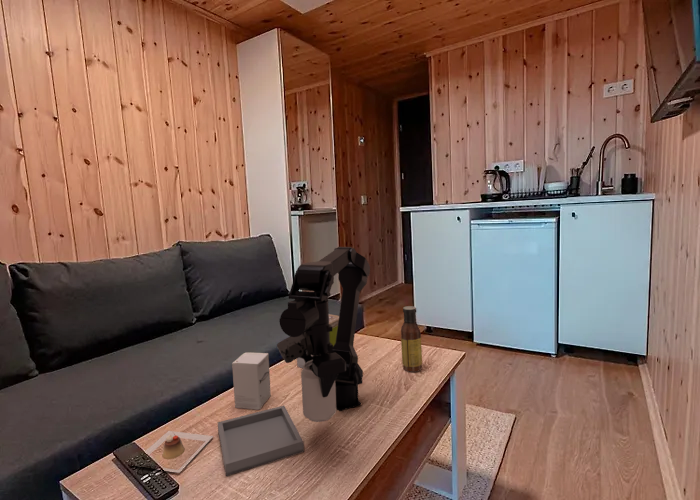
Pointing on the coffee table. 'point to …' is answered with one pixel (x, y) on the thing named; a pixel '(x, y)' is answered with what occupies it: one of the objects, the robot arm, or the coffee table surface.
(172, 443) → the dessert
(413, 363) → the sauce bottle
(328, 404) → the can
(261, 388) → the supplement box
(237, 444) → the tray
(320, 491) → the coffee table surface
